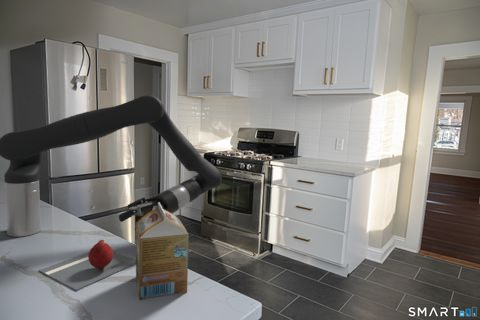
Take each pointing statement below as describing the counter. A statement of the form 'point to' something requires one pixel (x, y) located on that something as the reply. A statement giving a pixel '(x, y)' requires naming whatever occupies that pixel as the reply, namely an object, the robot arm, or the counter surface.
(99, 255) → the onion
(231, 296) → the counter surface
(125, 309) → the counter surface
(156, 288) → the milk carton
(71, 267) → the mat
